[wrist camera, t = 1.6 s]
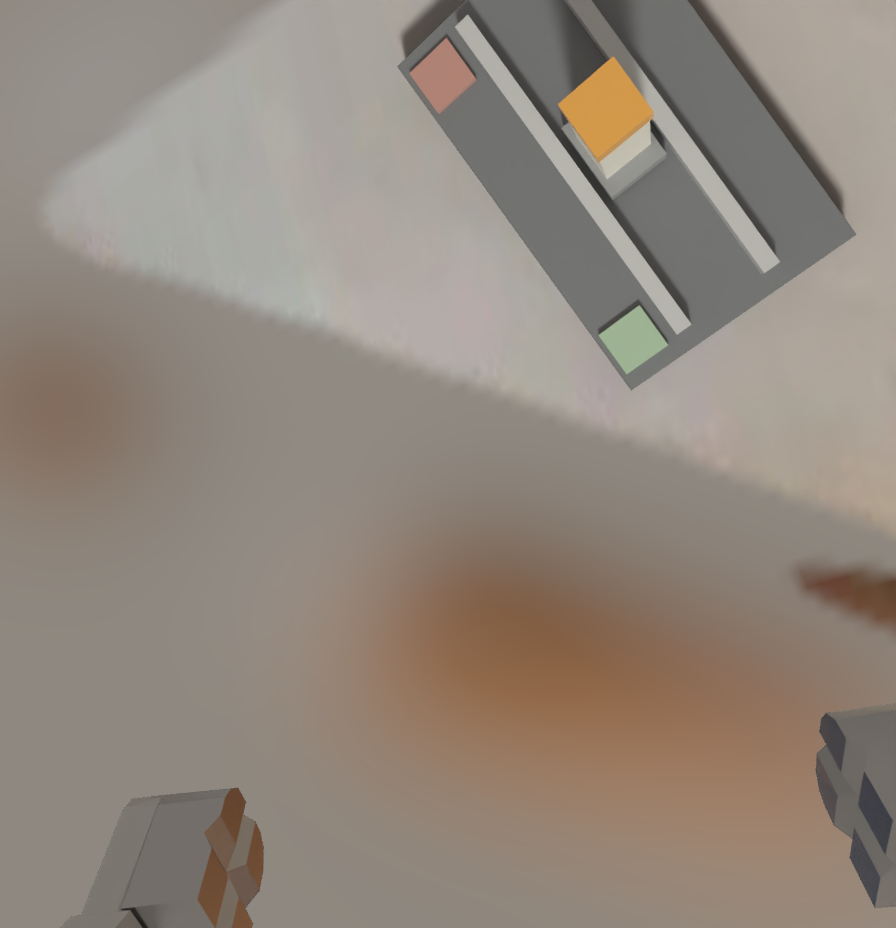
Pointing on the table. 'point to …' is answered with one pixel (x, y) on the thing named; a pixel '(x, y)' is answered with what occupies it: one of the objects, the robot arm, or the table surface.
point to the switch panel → (654, 195)
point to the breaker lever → (612, 128)
